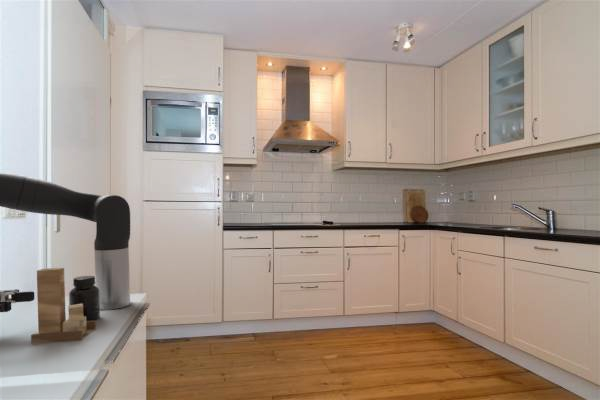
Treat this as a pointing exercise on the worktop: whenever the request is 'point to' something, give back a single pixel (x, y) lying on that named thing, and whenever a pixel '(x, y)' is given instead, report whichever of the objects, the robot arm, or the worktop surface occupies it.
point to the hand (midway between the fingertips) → (22, 300)
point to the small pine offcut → (75, 312)
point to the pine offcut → (75, 326)
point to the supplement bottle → (86, 297)
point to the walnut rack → (63, 335)
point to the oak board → (51, 300)
